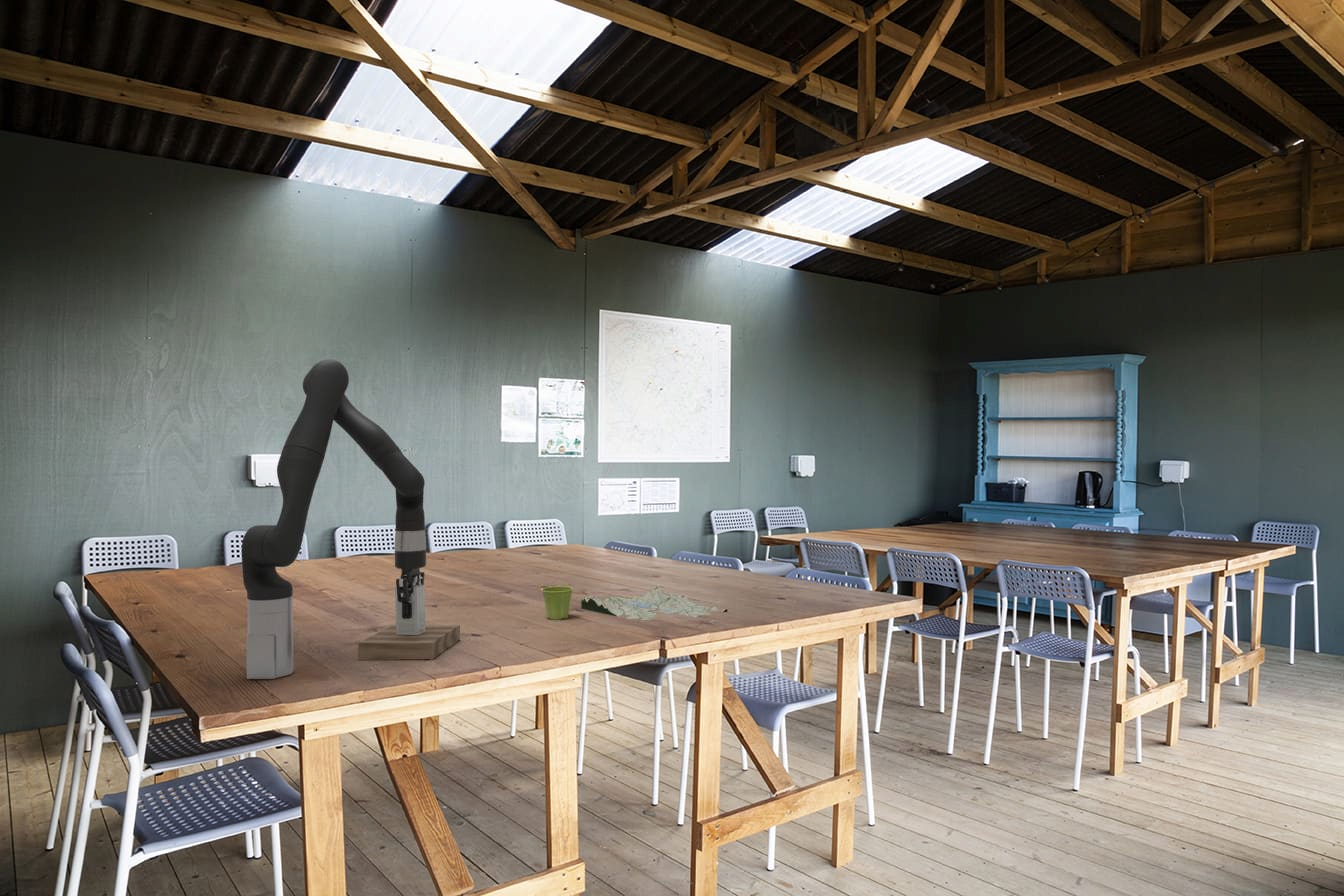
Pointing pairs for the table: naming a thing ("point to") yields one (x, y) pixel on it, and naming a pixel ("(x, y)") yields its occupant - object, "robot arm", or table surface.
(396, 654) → the walnut stand
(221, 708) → the table surface
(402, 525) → the robot arm
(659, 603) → the topographic map model
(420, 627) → the skincare box
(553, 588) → the plant pot
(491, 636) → the table surface
